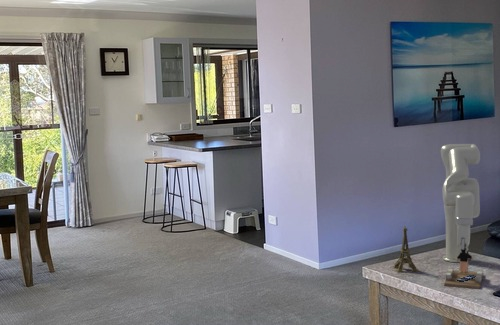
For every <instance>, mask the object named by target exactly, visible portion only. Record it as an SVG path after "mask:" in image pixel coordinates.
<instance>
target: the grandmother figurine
mask: <svg viewBox="0 0 500 325" xmlns="http://www.w3.org/2000/svg"><path fill="white" fill-rule="evenodd" d="M465 250H466V248H465ZM467 251H468V252H469V247H468V248H467ZM459 259H460V254H459V255H458V257H457V259H456V262H455V263H459V270H458V271H459V273H463V272H464V273H469V272H470V271H469V259H470V261H471V262H473V261H474V259H473V256H472V255H471V254H469V253H468V261H467V262H463V261H460V262H458V260H459Z"/></svg>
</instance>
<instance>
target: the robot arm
mask: <svg viewBox="0 0 500 325" xmlns="http://www.w3.org/2000/svg"><path fill="white" fill-rule="evenodd" d="M440 156H441V160H442V163H443V165H444V168H445V180H444V182H443V184H442V189H441V190H442V191H441V192H442V202H443V212H444V216H445V217H444V220H445V254H444V255H443V256H442V260H444V261H446V262H450V263H460V261H463V262H467V261H468V262H469V258H468V254H469V250H468V251H467V248H468V249H469V245H470V243H471V242H470V241H471V226H473V225H474V220H473V219H475V218H478V217H479V216H480V212H481V209H480V208H481V205H480V204H481V203H480V199H481V198H480V185H479V181H478V180H477V179H476V178H473V177H469V176H470V172H469V165H477V164H479V163H480V160H481V152H480V150H479V148H478V146H477V145H476V144H475V143H449V144H445V145H442V146H441V148H440ZM465 248H466V250H465ZM459 254H460V259H459V260H458V262H456V259H457V257H458V255H459Z"/></svg>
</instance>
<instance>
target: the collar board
mask: <svg viewBox="0 0 500 325" xmlns="http://www.w3.org/2000/svg"><path fill="white" fill-rule="evenodd" d="M459 271H460V270H454V268H451V267H449V268H448V269H447V271H446V273H445V281H444V283H443V284H444V285H443V286H444V287H452V288H455V287H456V288H462V289H463V288H465V289H466V288H467V289H477V290H480V288H481V284H482V280H483V277H484V272H483V270H479V269H478V270H477V271H468V272H469V273H464V272H463V273H459ZM469 275H474V276H476V277H475V278H473V279H470V280H468V281H464V282H459V281H457V280H456V279H459V278H463V277H466V276H469Z"/></svg>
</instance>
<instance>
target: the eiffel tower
mask: <svg viewBox="0 0 500 325" xmlns="http://www.w3.org/2000/svg"><path fill="white" fill-rule="evenodd" d="M402 231H403V233H402V234H403V235H402V243H401V248H400V249H399V250H400V254H399V256H398V259H397V260H396V262H395V263H394V265H392V266H391V267H392V269H397V270H396V273H404V271H403V268H404V267H403V266H404V265H405V264H408V265H407V267H408V268H411V271H412V272H414V273H420V271H419V270H418V269H417V267H416V265H415V264H414V262H413V258H412V257H411V255H410V254H411V253H410V252H411V250H410V249H409V242H408V241H409V240H408V233H407V231H408V228H407V227H402ZM405 255H406V256H405Z"/></svg>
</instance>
